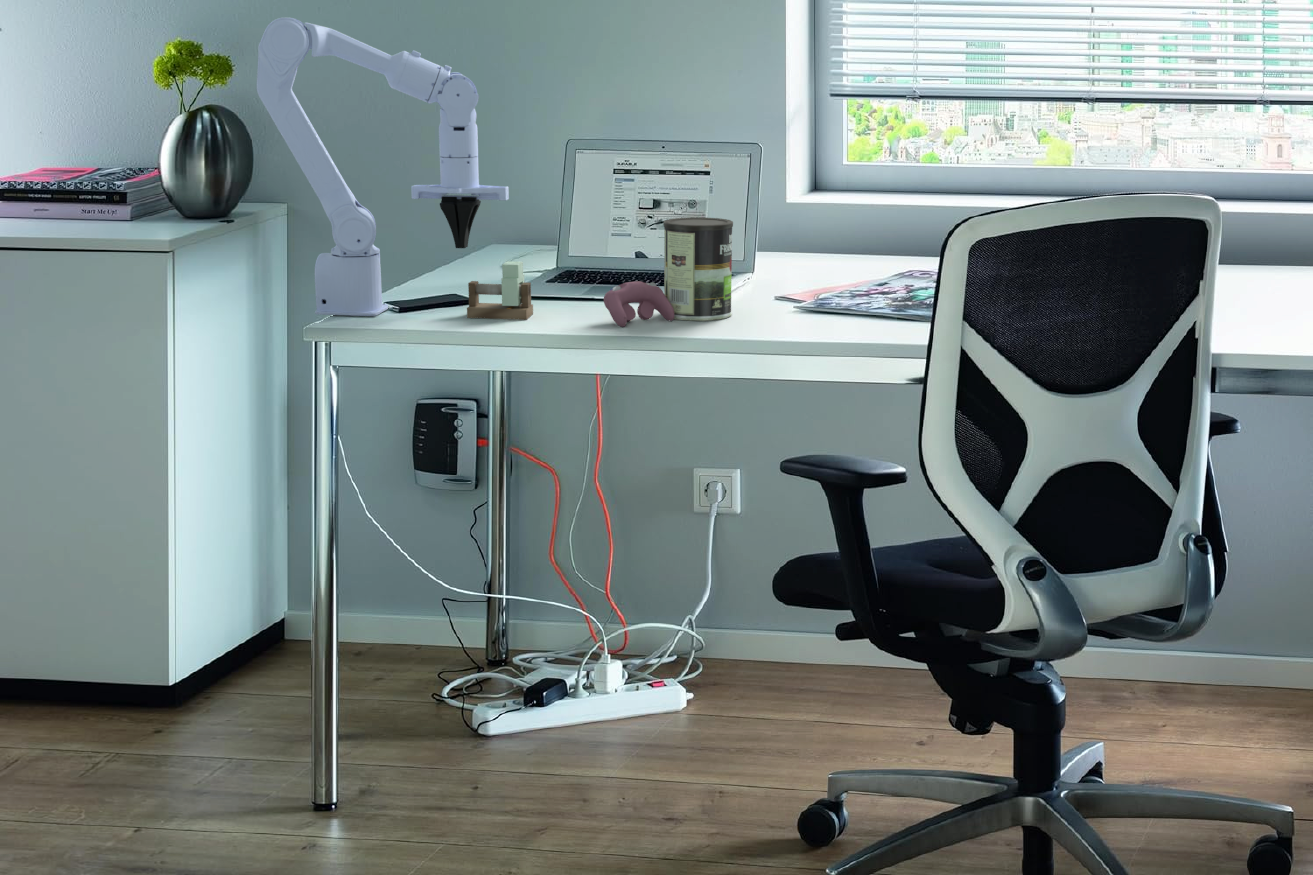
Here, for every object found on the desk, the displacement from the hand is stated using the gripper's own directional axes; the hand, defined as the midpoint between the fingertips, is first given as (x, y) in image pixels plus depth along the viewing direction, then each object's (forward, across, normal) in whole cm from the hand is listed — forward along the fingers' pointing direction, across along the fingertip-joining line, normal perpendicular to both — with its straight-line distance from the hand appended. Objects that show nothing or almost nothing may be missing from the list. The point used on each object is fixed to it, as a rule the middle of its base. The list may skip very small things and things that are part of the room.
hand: (461, 247), depth 235 cm
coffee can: (+10, +36, +1) cm, 37 cm away
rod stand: (+9, +7, -5) cm, 13 cm away
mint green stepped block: (+7, +9, -5) cm, 13 cm away
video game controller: (+10, +28, -6) cm, 30 cm away
